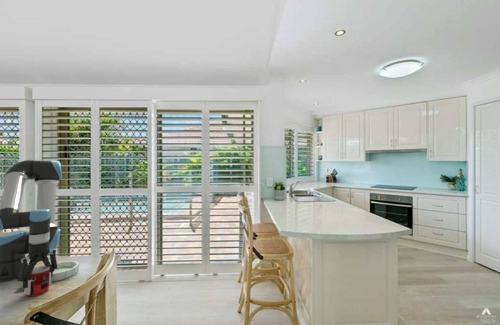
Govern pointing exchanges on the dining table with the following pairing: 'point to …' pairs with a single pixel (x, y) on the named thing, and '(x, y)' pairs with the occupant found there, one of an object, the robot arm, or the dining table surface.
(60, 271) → the bowl
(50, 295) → the dining table surface
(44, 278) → the canned food
